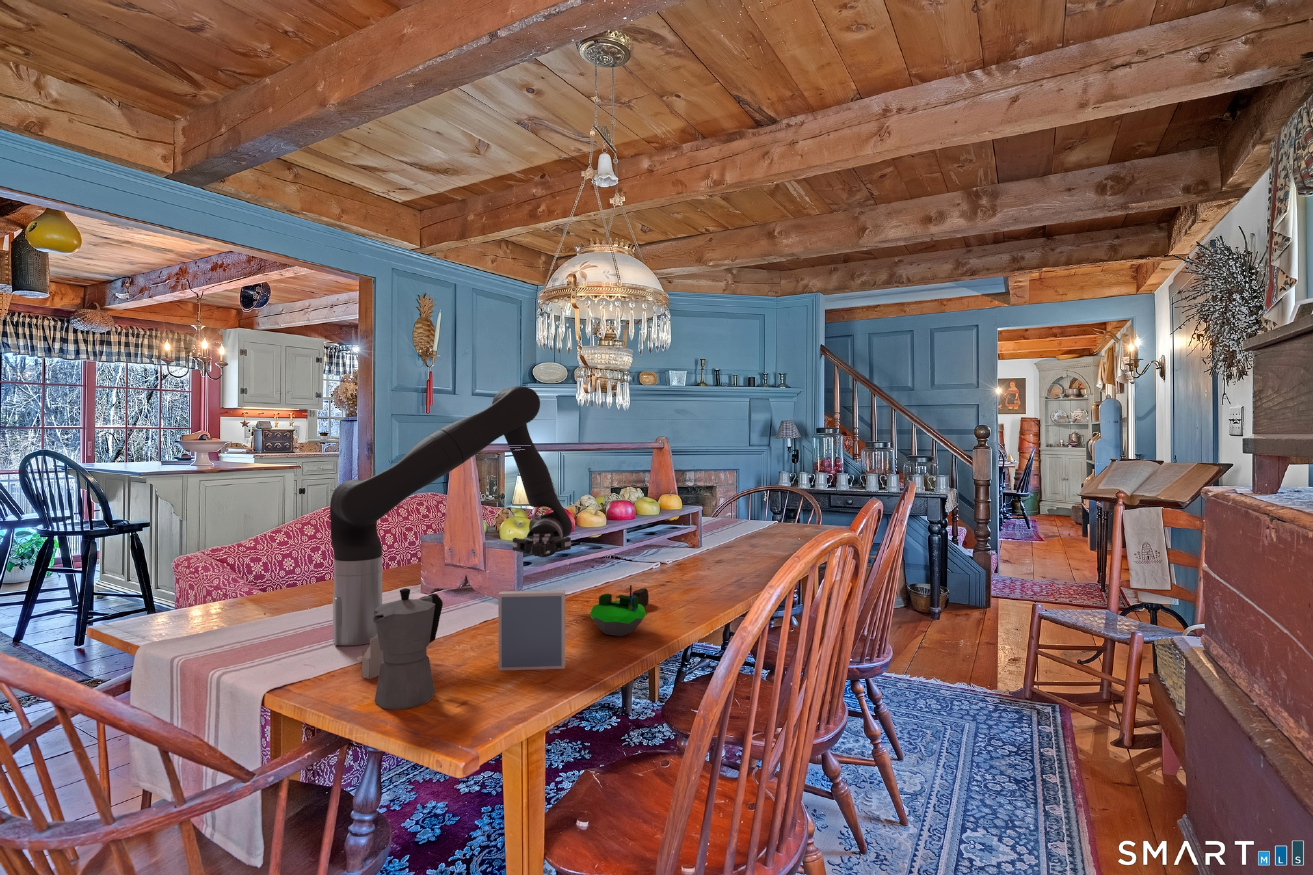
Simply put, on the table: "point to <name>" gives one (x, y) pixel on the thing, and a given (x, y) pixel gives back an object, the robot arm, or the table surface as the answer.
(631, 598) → the floating island model
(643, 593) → the hand tool
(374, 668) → the architectural model
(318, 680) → the table surface
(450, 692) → the table surface
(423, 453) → the robot arm
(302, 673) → the table surface
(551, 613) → the tile
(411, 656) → the coffeepot
